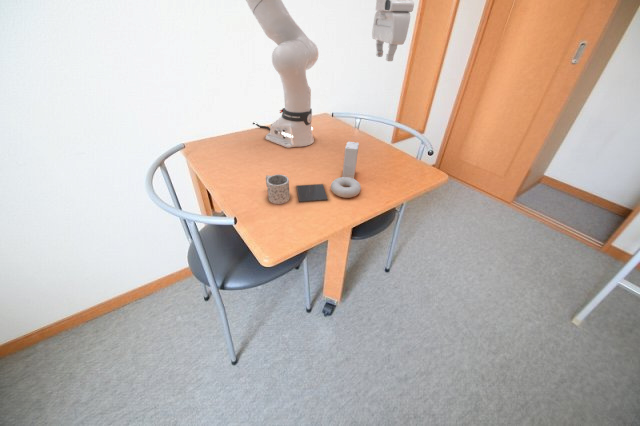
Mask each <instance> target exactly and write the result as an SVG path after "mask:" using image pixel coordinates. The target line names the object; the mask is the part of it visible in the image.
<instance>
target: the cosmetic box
mask: <svg viewBox="0 0 640 426" xmlns="http://www.w3.org/2000/svg"><path fill="white" fill-rule="evenodd" d="M359 147H360V142H355V141H347V142H346V144H345V147H344V155H343V166H342V176H341V177H349V178H353V179H355V175H356V169H357V162H358V155H359V154H358V153H359Z"/></svg>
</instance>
